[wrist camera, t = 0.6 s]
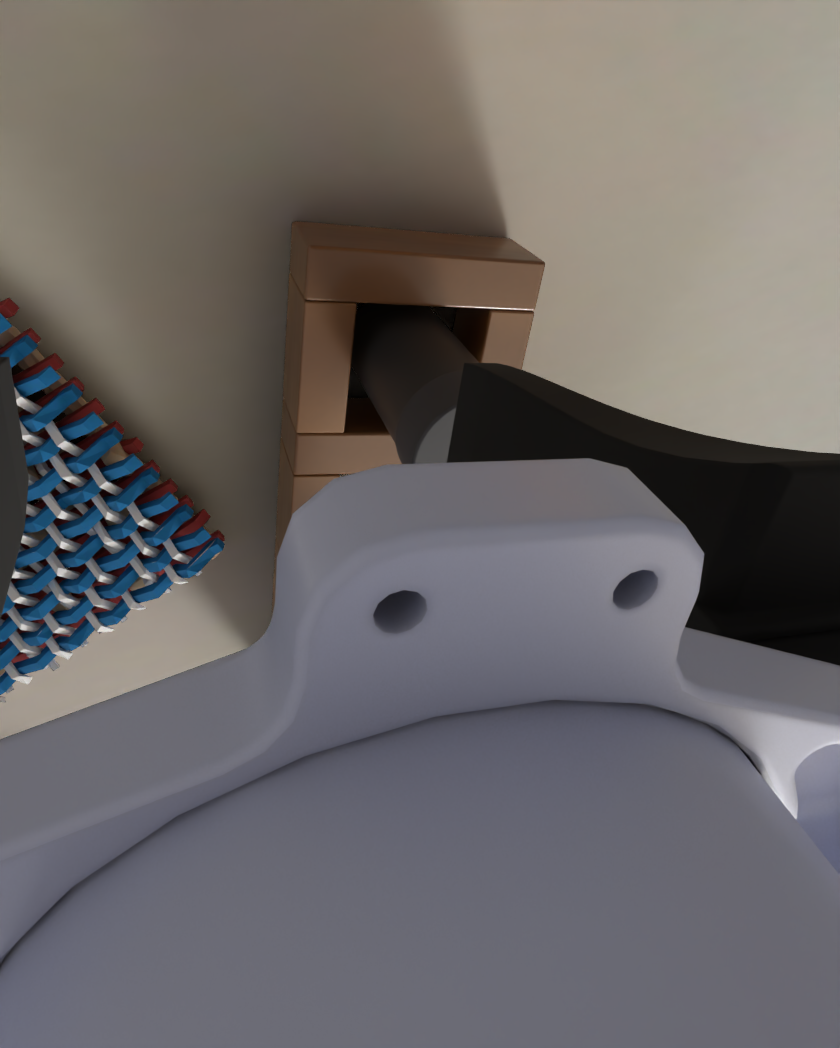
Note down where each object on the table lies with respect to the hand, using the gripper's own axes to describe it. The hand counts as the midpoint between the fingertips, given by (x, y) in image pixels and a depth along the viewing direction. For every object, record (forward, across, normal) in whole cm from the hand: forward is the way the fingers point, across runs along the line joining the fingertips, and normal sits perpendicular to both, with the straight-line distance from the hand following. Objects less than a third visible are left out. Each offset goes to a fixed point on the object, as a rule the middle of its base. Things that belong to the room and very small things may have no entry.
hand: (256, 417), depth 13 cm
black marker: (+10, -6, +2) cm, 12 cm away
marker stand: (+10, -5, +8) cm, 14 cm away
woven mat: (+10, +7, +8) cm, 15 cm away
